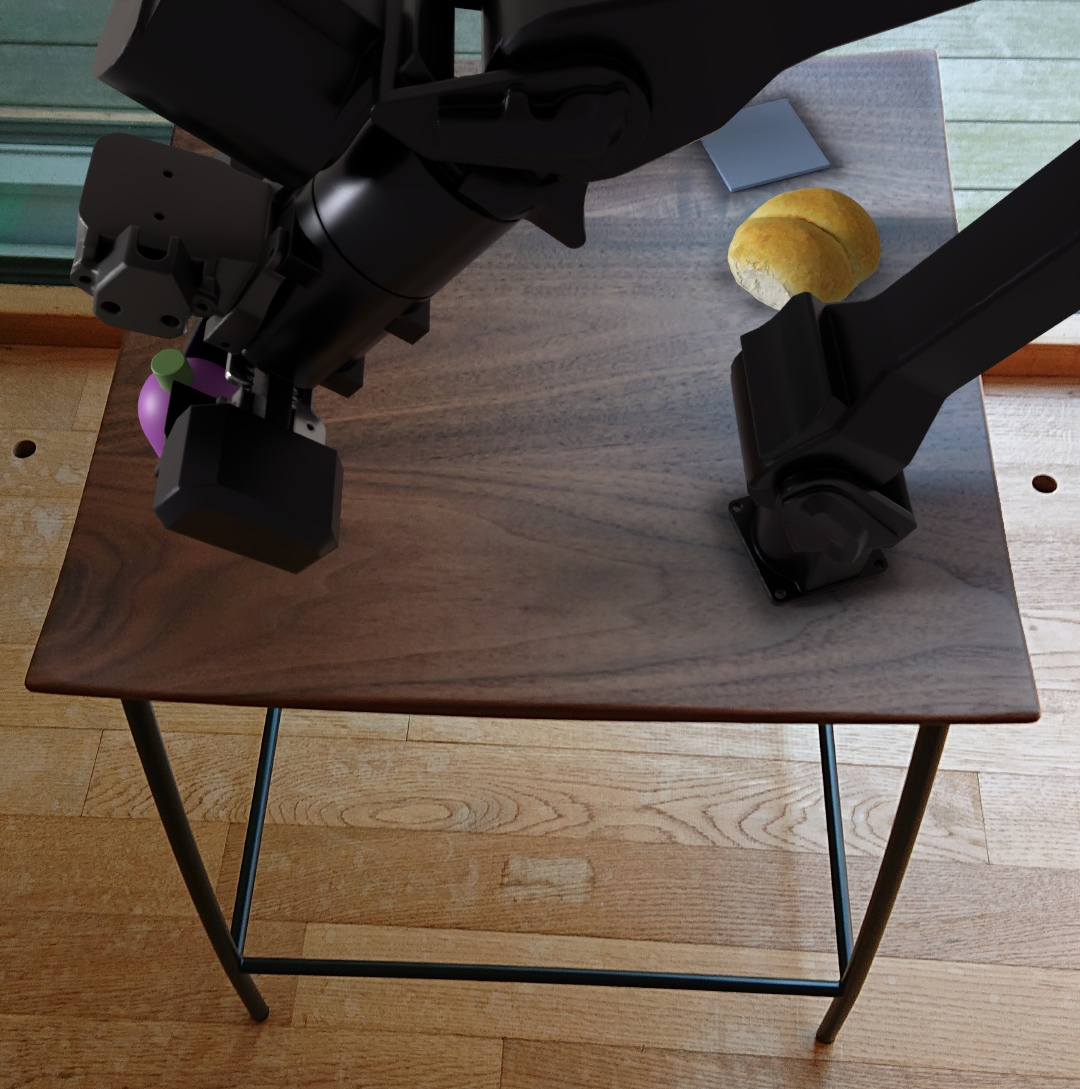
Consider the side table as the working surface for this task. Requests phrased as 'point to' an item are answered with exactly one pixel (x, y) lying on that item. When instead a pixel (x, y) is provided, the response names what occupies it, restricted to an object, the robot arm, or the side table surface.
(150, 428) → the eggplant
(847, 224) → the bread roll
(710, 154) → the blue-grey square tile
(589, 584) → the side table surface
